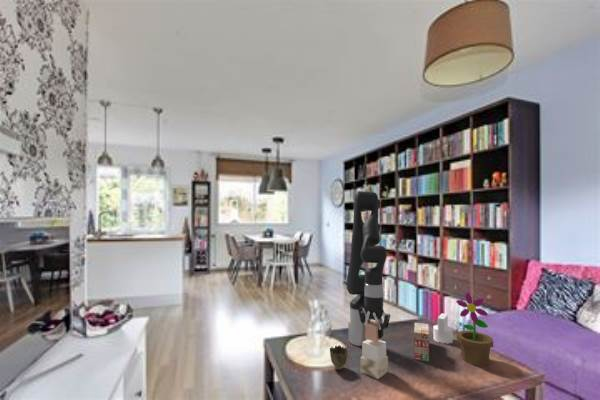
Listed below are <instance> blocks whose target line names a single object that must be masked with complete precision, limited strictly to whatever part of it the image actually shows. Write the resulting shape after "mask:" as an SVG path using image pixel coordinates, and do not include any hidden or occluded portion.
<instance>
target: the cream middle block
mask: <svg viewBox="0 0 600 400" xmlns="http://www.w3.org/2000/svg"><path fill="white" fill-rule="evenodd" d="M361 353H362V354H361V357H363V358H366V359H369V360H371V361H374V362H377V363H378V362H379V361H381V360H382V359H384V358H385V357H386V356H387V342H386V341H384V340H382V339H381V340H379V341H377V342H374V341H371V340H368V339H367V340H365V341H364V342H362V346H361Z"/></svg>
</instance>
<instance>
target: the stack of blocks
mask: <svg viewBox="0 0 600 400" xmlns="http://www.w3.org/2000/svg"><path fill="white" fill-rule="evenodd" d="M429 329H430V327H429V324H428V323H421V322H414V329H413V349H414V350H413V359H414V360H416V361H422V362H427V363H428V362H429V363H430V330H429Z"/></svg>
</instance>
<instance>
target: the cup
mask: <svg viewBox="0 0 600 400" xmlns="http://www.w3.org/2000/svg"><path fill="white" fill-rule="evenodd" d="M347 348H348V347H347ZM347 348H346V346H345V347H344V346H341V345H335V347H333V346H331V347H329V354H330V361H331V363H332V365H333V368H334V370H337V371H341V370H343V369H344V366H345V365H346V363H347V359H348V349H347Z"/></svg>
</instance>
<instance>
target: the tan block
mask: <svg viewBox="0 0 600 400" xmlns="http://www.w3.org/2000/svg"><path fill="white" fill-rule="evenodd" d="M383 338H384V336H383V337H382V338H381V339H379V338H378V326H377V324H376V321H375V320H371V321H370V322H368V323H366V324H365V339H368V340H371V341H374V342H377V341H379V340H381V341H382V339H383Z"/></svg>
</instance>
